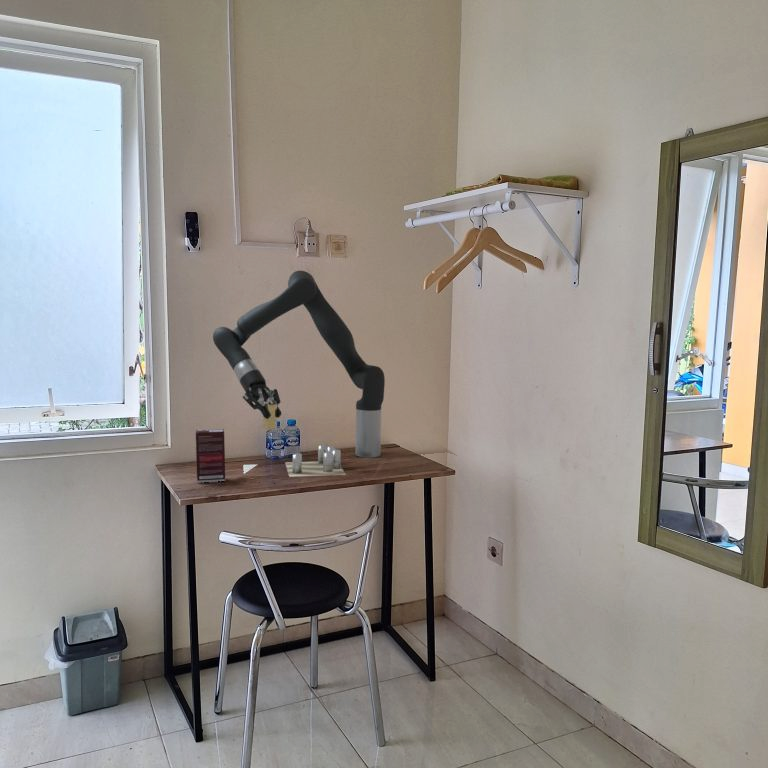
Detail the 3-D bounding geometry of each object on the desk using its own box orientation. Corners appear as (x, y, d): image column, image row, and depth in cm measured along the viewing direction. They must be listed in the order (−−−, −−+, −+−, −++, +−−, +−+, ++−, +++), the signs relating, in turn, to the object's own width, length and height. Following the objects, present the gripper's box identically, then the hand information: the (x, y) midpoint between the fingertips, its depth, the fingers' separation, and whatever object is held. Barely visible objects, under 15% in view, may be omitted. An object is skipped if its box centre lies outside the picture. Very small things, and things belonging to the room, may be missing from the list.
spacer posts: (289, 462, 238) (289, 445, 237) (336, 461, 241) (336, 444, 241) (292, 473, 222) (292, 455, 222) (343, 472, 226) (343, 454, 225)
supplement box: (224, 478, 219) (224, 428, 218) (225, 482, 215) (224, 431, 213) (196, 479, 217) (195, 429, 215) (196, 483, 212) (195, 432, 211)
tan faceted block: (265, 427, 229) (266, 403, 229) (277, 427, 229) (278, 403, 228) (261, 429, 225) (262, 404, 224) (273, 430, 224) (274, 405, 224)
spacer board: (285, 465, 238) (285, 462, 238) (337, 463, 242) (337, 460, 242) (289, 479, 219) (289, 476, 219) (346, 477, 222) (346, 474, 222)
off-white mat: (243, 465, 236) (243, 464, 236) (273, 465, 238) (273, 463, 238) (243, 478, 219) (243, 477, 219) (275, 477, 221) (275, 476, 221)
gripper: (238, 369, 224) (263, 411, 218) (271, 367, 235) (295, 407, 229) (227, 384, 228) (251, 426, 222) (260, 382, 239) (284, 421, 233)
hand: (274, 416), depth 225 cm, fingers closed on tan faceted block, 4 cm apart
